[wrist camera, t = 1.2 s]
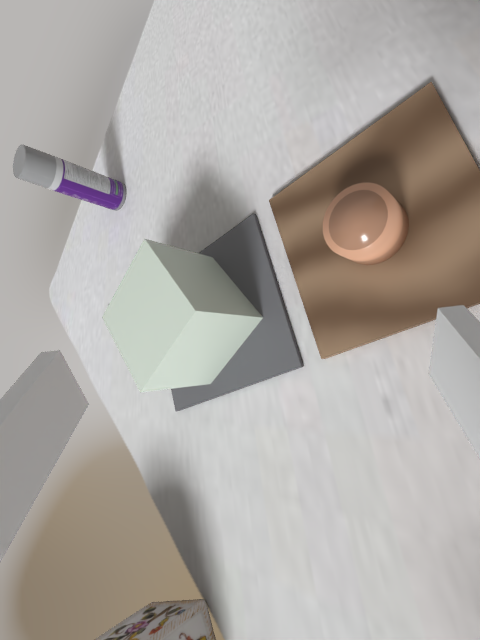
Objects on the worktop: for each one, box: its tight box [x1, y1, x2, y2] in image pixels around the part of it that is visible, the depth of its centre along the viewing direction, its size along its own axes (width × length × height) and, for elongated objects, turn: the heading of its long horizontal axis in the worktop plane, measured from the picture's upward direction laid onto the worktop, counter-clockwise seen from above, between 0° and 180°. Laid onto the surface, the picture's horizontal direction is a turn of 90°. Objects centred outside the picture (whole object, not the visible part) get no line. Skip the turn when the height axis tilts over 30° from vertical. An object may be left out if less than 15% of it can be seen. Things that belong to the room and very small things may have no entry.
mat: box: [171, 214, 303, 411], centre depth 44 cm, size 18×20×1 cm
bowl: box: [323, 182, 409, 265], centre depth 30 cm, size 6×6×4 cm
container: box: [13, 145, 126, 210], centre depth 54 cm, size 5×5×15 cm
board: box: [269, 82, 480, 359], centre depth 32 cm, size 18×17×1 cm
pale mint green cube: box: [102, 239, 263, 392], centre depth 40 cm, size 11×11×10 cm
